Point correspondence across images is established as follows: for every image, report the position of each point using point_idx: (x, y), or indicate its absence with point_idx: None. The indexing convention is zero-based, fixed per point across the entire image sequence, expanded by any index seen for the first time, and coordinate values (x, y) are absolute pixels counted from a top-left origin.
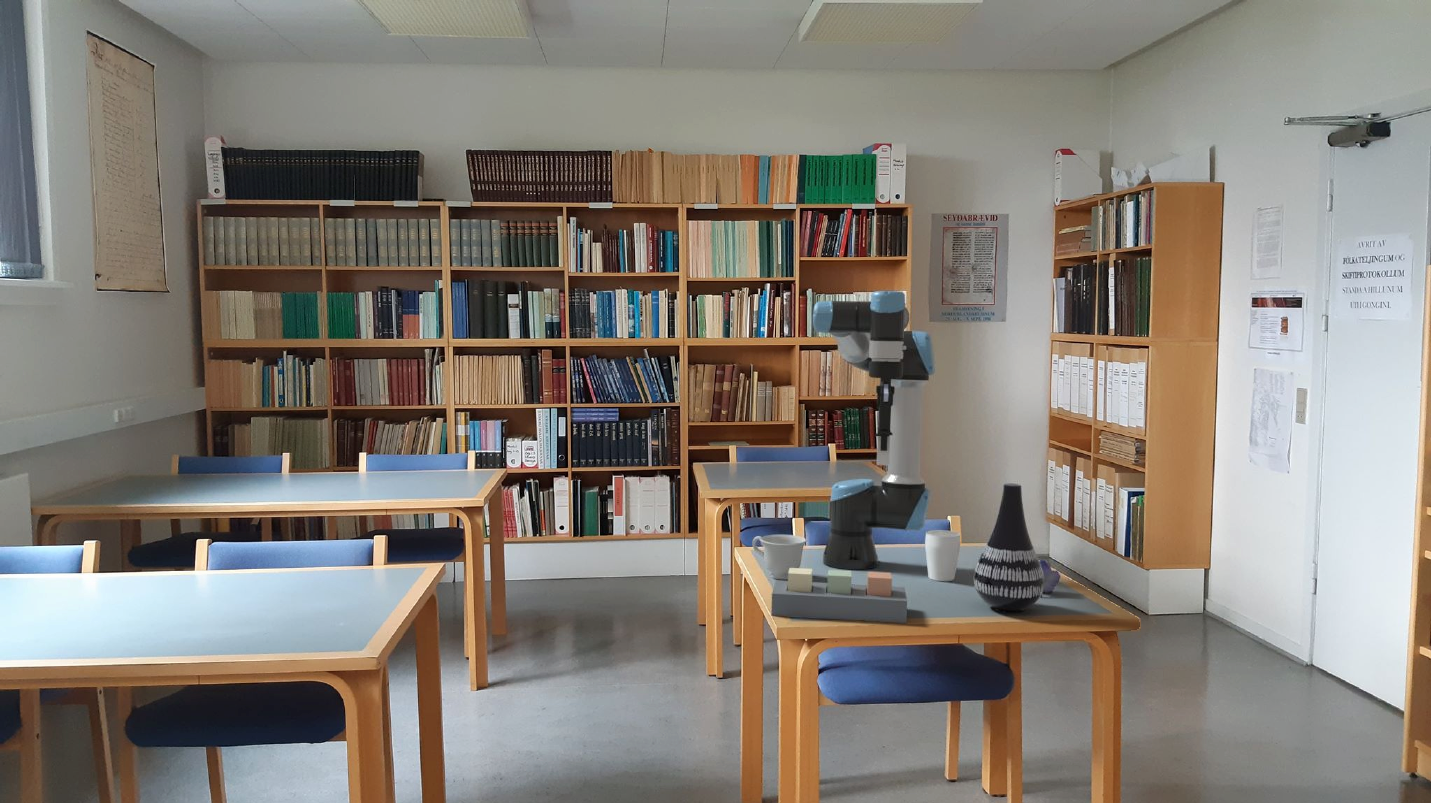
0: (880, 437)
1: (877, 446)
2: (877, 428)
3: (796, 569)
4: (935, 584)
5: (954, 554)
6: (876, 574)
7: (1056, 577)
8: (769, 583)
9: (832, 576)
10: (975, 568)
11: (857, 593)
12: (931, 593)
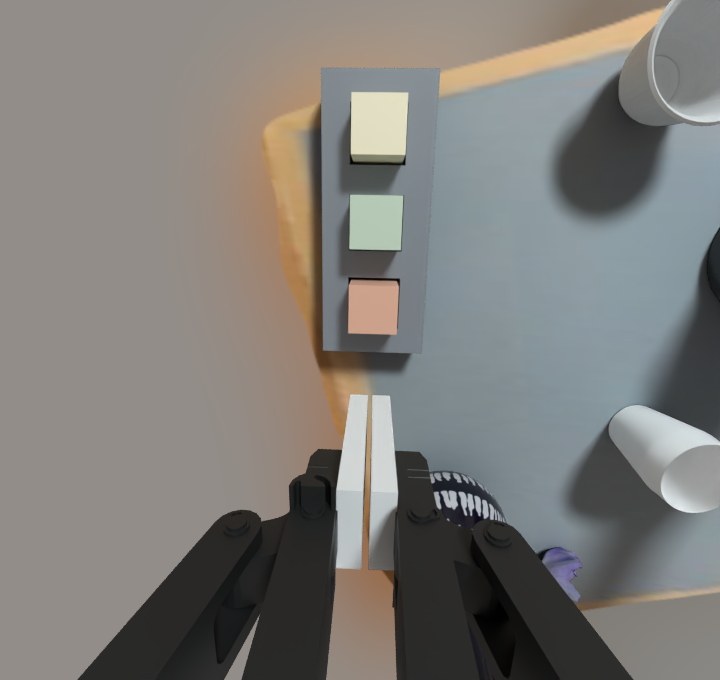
0: (338, 502)
1: (358, 445)
2: (506, 533)
3: (392, 112)
4: (586, 411)
5: (638, 474)
6: (377, 304)
7: None
8: (582, 58)
9: (350, 206)
10: (456, 494)
11: (357, 261)
12: (521, 397)
